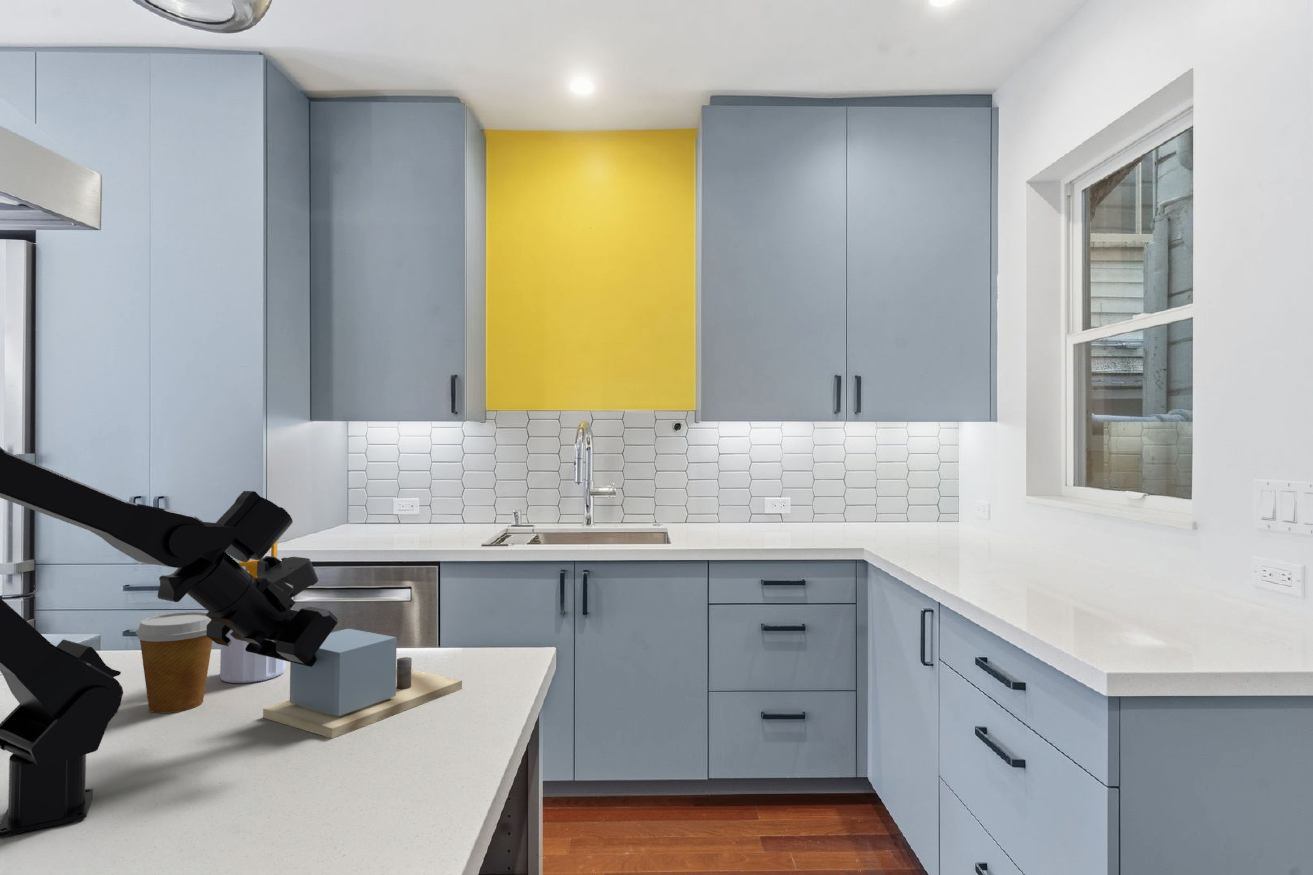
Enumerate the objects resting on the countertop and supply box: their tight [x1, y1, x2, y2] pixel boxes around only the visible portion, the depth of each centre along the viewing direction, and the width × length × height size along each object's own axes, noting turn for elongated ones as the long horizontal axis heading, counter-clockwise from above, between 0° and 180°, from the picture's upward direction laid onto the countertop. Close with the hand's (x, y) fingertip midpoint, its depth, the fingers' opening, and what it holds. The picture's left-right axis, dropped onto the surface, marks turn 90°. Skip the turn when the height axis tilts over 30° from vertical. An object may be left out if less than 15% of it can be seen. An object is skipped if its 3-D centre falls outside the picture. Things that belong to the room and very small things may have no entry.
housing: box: [289, 628, 398, 716], centre depth 99 cm, size 9×10×8 cm
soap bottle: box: [219, 541, 287, 684], centre depth 115 cm, size 9×9×25 cm
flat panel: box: [262, 656, 463, 739], centre depth 103 cm, size 22×14×5 cm, turn 151°
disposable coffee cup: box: [135, 611, 214, 714], centre depth 101 cm, size 10×10×12 cm
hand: (312, 663), depth 95 cm, fingers closed
